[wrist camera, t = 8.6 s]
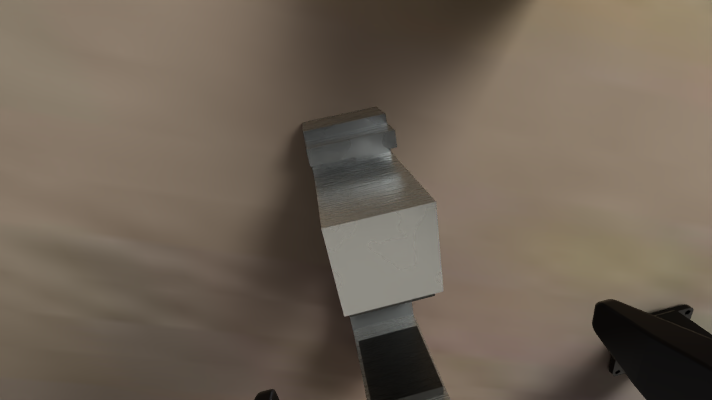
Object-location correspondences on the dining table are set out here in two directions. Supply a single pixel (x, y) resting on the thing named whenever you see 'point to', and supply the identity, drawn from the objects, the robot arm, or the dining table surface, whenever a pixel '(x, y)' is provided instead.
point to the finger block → (378, 233)
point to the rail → (390, 325)
